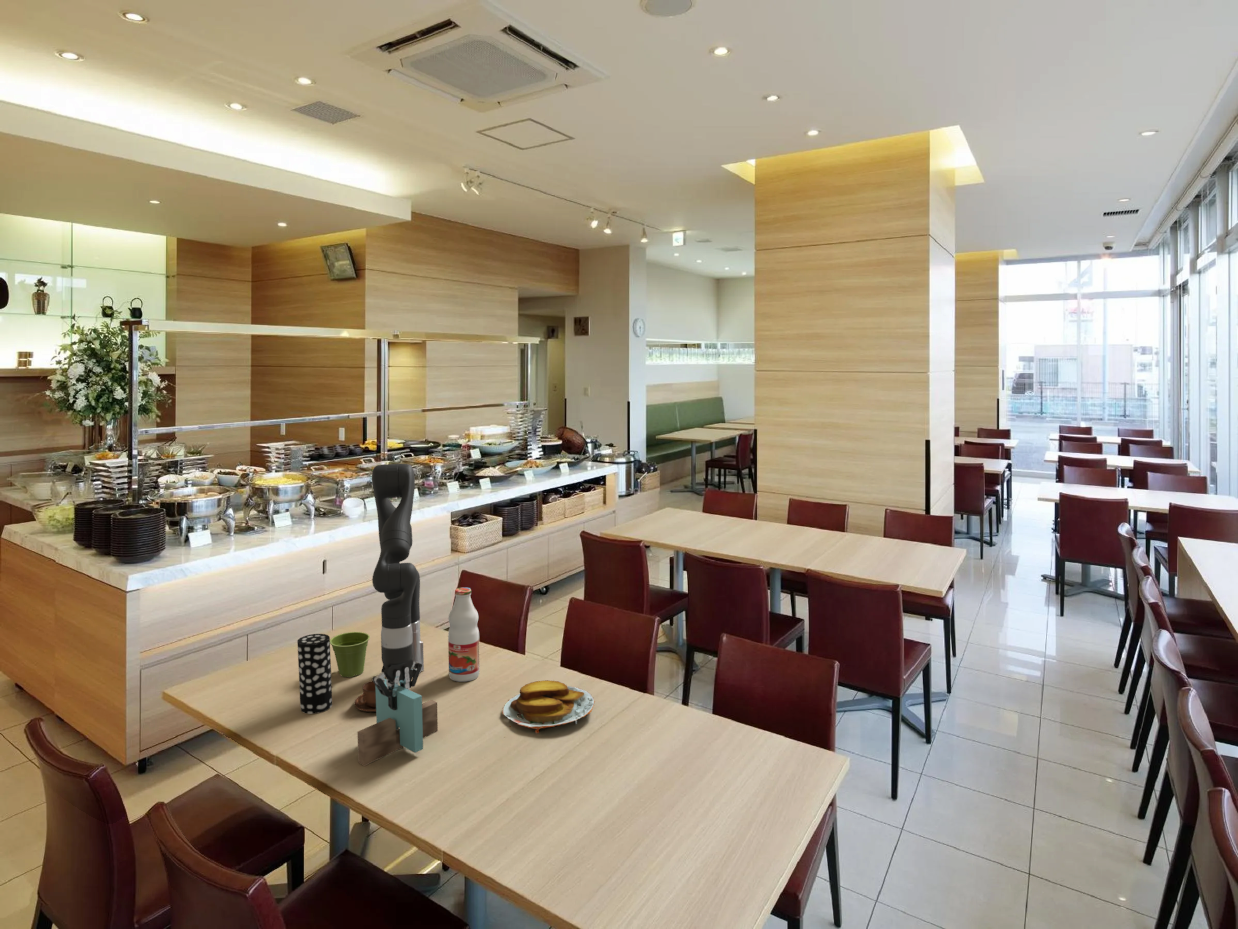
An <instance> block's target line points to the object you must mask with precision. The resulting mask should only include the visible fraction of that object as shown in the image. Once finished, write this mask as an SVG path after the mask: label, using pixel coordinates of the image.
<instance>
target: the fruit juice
mask: <svg viewBox="0 0 1238 929" xmlns="http://www.w3.org/2000/svg"><path fill="white" fill-rule="evenodd" d="M454 595H455V599H454V603H453V606H452V608H451V610H450V611H449V613H448V618H447V619H448V624H449V629H448V635H447V637H448V638H447V639H448V640H447V643H448V648H447V649H448V677H449V678H450V680H451V681H454V682H458V683H464V682H470V681H473V680H475V679H477V678H478V677H479V675H480V631H479V627H478V621H479V613H478V611H477V609H476V607H475V606H474V604H473V600H472V598H471V595H472V589H471V587H458V588H456V589H455V590H454Z"/></svg>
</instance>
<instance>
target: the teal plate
mask: <svg viewBox="0 0 1238 929" xmlns="http://www.w3.org/2000/svg"><path fill="white" fill-rule="evenodd" d="M384 679H385V682H384V683H385V685H386V680H387V678H384ZM375 687H376V685H375ZM386 687H387V685H386ZM396 696H397V710H392V709H390V708H389V706H388V697H386V696H384V695H382V694H381V693H380V692H379V690H378V688H377V687H376V712H375V713H376V723H378V722H381V721H383V720H385V719H388V718H391V719H393V720H395V722H396V730H397V729H399V728H400V745H401V746H403V748H405V749H407V750H409V751H410V752H413V753H414V754H415V753H418V752H419V751H422V750H424V738H423V724H422V704H423V695H421V694H420V693H417V692H414V691H412V690H408V689H406V688H404V687H402V686H400V685H399V686H398V687H397V695H396Z"/></svg>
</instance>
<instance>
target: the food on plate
mask: <svg viewBox="0 0 1238 929" xmlns="http://www.w3.org/2000/svg"><path fill="white" fill-rule="evenodd" d="M595 702H596V701H595V700H594V697H593V696H592V694H591V693H590V692H589V691H586V690H585V689H582V688H580V687H575V686H572V685H567V684H565V683H563V682H561V681H557V680H538V681H532V682H529V683H527V684H524V685H523V686H522V687H520V690H519V694H516V695H514V696H513V697H511V698H510V699H507V702H506V703H505V705H504V706H503V707H502V712H501V713H502V715H503V716H505V717H507V719H509V720H511V721H512V722H514V723H517V725H519V726H522V727H525V728H528V729H534V732H535V734H539V733H540V731H539V730H540V729H546V728H552V727H556V726H561V725H566V724H568V723H573V722H575V725H577V724H578V720H580V719H581V718H585V717H586V716H587V715H590V714H591V713H592V711H593V708H594V707H595V705H594V704H595ZM517 713H519V715H520V717H519V716H518V715H517ZM517 716H518V717H517ZM521 716H522V717H521ZM509 727H512V726H511V725H509Z"/></svg>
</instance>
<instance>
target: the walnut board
mask: <svg viewBox="0 0 1238 929" xmlns="http://www.w3.org/2000/svg"><path fill="white" fill-rule="evenodd" d="M422 724H423V739H424V738H426V737H428V736H430V735H432V734H435V733H436V732H438V731H439V727H438V726H439V725H438V724H439V722H438V701H436V700H433V699H430V700H428V701H424V702H422ZM356 733H357V751H358V752H357V755H358V756H357V757H358V758H357V760H358V761H357V762H358V764H360V765H362V766H363V767H365V766H367V765H369V764H371V763H373V762H375V761H377V760H380V759H381V758H384V757H386V756H388V755H390V754H392V753H395V752H396V751H398V750H401V749H403V748H404V747H403V746H401V745H400V728H399V729H397V730H396V722H395V720H393V719H391V718H388V719H385V720H383V721H381V722H378V723H377V722H376V723H374V724H371V725H370V726H369V725H368V726H367V727H365V728H362V729H359V730H358V731H357V732H356Z"/></svg>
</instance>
